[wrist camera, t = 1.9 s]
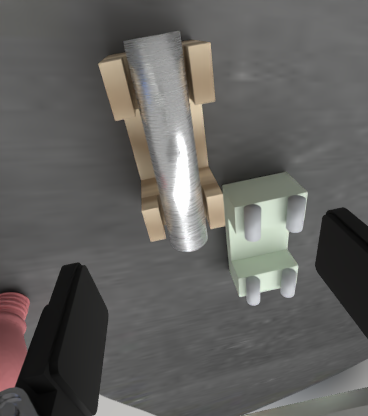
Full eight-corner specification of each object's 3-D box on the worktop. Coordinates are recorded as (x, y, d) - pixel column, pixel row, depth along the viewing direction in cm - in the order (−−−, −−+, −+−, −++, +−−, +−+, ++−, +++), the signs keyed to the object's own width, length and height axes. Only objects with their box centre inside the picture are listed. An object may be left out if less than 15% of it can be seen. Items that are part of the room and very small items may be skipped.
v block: (222, 185, 26) (239, 217, 21) (286, 171, 26) (316, 200, 22) (229, 270, 33) (243, 307, 28) (279, 258, 33) (302, 294, 28)
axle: (123, 40, 15) (121, 42, 13) (176, 30, 15) (183, 30, 13) (169, 231, 23) (172, 255, 20) (203, 223, 23) (211, 246, 21)
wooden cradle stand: (108, 55, 19) (98, 63, 14) (191, 39, 19) (210, 42, 14) (148, 202, 26) (150, 241, 21) (209, 190, 26) (225, 225, 21)
